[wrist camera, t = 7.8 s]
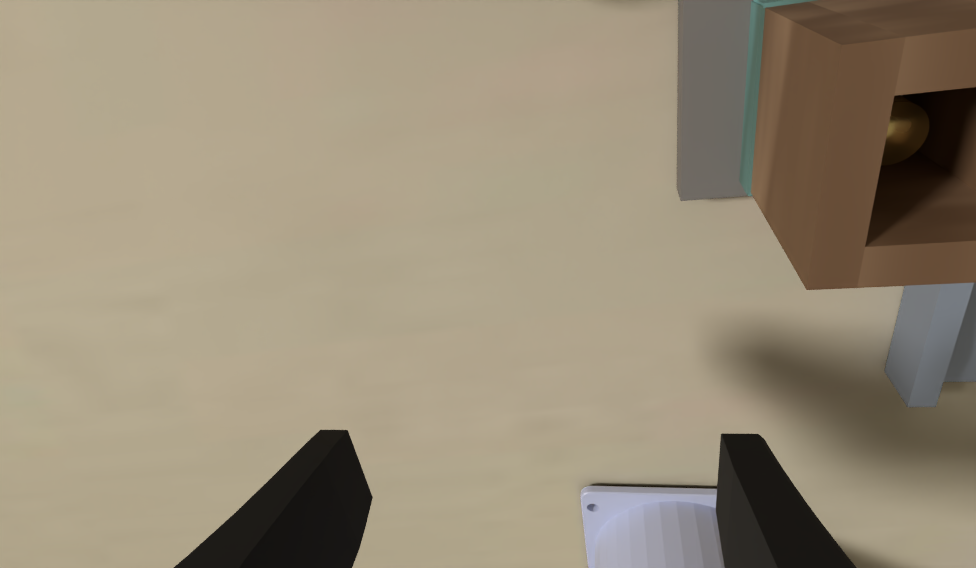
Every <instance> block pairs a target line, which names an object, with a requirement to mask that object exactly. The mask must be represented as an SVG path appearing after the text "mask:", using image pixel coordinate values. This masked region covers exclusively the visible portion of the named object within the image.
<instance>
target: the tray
mask: <svg viewBox="0 0 976 568" xmlns="http://www.w3.org/2000/svg"><path fill="white" fill-rule="evenodd" d="M885 373H886V374H887V376H888V378H889V379H890V381H891V382H892V384H893V385H894V387H895V388H896V390H897V392H898V393H899V395H900V396H901V398H902V399H903V401H904V402H905V404H906V406H907V407H936V405H937V401H938V398H939V395H940V392H941V388H942V385H943V382H976V283H955V284H932V285H909V286H905V287H904V292H903V296H902V300H901V304H900V308H899V312H898V317H897V321H896V325H895V329H894V333H893V337H892V342H891V346H890V350H889V354H888V358H887V362H886V367H885Z"/></svg>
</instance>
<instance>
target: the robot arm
mask: <svg viewBox="0 0 976 568" xmlns="http://www.w3.org/2000/svg"><path fill="white" fill-rule="evenodd" d="M371 502H372V495H371V492H370V489H369V487H368V484H367V481H366V479H365V476H364V473H363V470H362V468H361V465H360V462H359V460H358V457H357V454H356V452H355V449H354V446H353V444H352V441H351V438H350V435H349V433H348V430H320V431H319V432H318V433H317V434H316V435H315V436H313V437H312V438H311V439H310V440H309V441H308V442H307V443H306V444H305V445H304V446H303V447H302V448H301V449H300V450H299V451H298V452H297V453H296V454H295V455H294V456H293V457H292V458H291V459H290V460H289V461H288V462H287V463H286V464H285V465H284V466H283V467H282V468H281V469H280V470H279V471H278V472H277V473H276V474H275V475H274V476H273V477H272V478H271V479H270V480H269V481H268V482H267V483H266V484H265V485H264V486H263V487H262V488H261V489H260V490H258V491H257V492H256V493H255V494H254V495H253V496H252V497H251V498H250V499H249V500H248V501H247V502H246V503H245V504H244V505H243V506H242V507H241V508H240V509H239V510H238V511H237V512H236V513H235V514H234V515H232V516H231V517H230V518H229V519H228V520H227V521H226V522H225V523H224V524H223V525H221V526H220V527H219V528H218V529H217V530H216V531H215V532H214V533H213V534H211V535H210V536H209V537H208V538H207V539H206V540H205V541H204V542H203V543H201V544H200V545H199V546H198V547H197V548H196V549H195V550H194V551H193V552H191V553H190V554H189V555H188V556H187V557H186V558H185V559H183V560H182V561H181V562H180V563H179V564H178V565H176V566H175V567H174V568H352V566H353V564H354V561H355V558H356V556H357V553H358V550H359V548H360V544H361V541H362V537H363V533H364V530H365V526H366V522H367V518H368V514H369V510H370V506H371ZM581 506H582V515H583V524H584V533H585V542H586V551H587V560H588V568H856V566H855V565H854V564H853V563H852V562H851V560H850V559H849V558H848V557H847V555H846V554H845V553H844V552H843V550H842V549H841V548H840V546H839V545H838V544H837V543H836V541H835V540H834V539H833V537H832V536H831V535H830V533H829V532H828V531H827V530H826V528H825V527H824V526H823V524H822V523H821V522H820V520H819V519H818V518H817V517H816V515H815V514H814V512H813V511H812V510H811V508H810V507H809V506H808V504H807V503H806V502H805V500H804V499H803V497H802V496H801V494H800V493H799V492H798V490H797V489H796V487H795V486H794V484H793V483H792V482H791V480H790V479H789V477H788V476H787V474H786V473H785V471H784V470H783V468H782V467H781V465H780V464H779V462H778V461H777V459H776V458H775V456H774V454H773V453H772V451H771V450H770V448H769V446H768V445H767V443H766V441H765V440H764V439H763V438H762V437H761V436H760V435H759V434H721V443H720V457H719V470H718V484H717V489H705V488H664V487H622V486H587V487H585V488H583V489H582V490H581Z"/></svg>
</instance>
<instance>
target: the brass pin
mask: <svg viewBox="0 0 976 568" xmlns="http://www.w3.org/2000/svg"><path fill="white" fill-rule="evenodd" d="M928 132H929V118H928V115H927V114H926V112H925V111H924V110H923V109H922V108H921V107H920V106H918V105H916V104H915V103H913V102H911V101H909V100H907V99H906V98H904V97H902V96H900V95H896V96H894V100H893V105H892V110H891V116H890V121H889V126H888V131H887V136H886V141H885V147H884V152H883V157H882V162H881V165H891V164H895V163H898V162H901V161H903V160H905V159H907V158H908V157H910V156H911V155H913V154H914V153H915V152H916V151H917V150H918V149H919V148H920V147H921V146H922V144H923V143H924V141H925V140H926V137H927V135H928Z"/></svg>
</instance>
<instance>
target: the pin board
mask: <svg viewBox="0 0 976 568" xmlns="http://www.w3.org/2000/svg"><path fill="white" fill-rule="evenodd" d="M751 1H753V0H678V112H677V190H678V194H679V197H680V200H681V201H687V200H699V199H712V198H725V197H738V196H748V195H747V194H746V192H745V191H744V189H743V187H742V185H741V183H740V182H739V177H740V162H741V147H742V132H743V117H744V102H745V87H746V72H747V56H748V41H749V26H750V11H751ZM900 96H902V97H903V95H900Z"/></svg>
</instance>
